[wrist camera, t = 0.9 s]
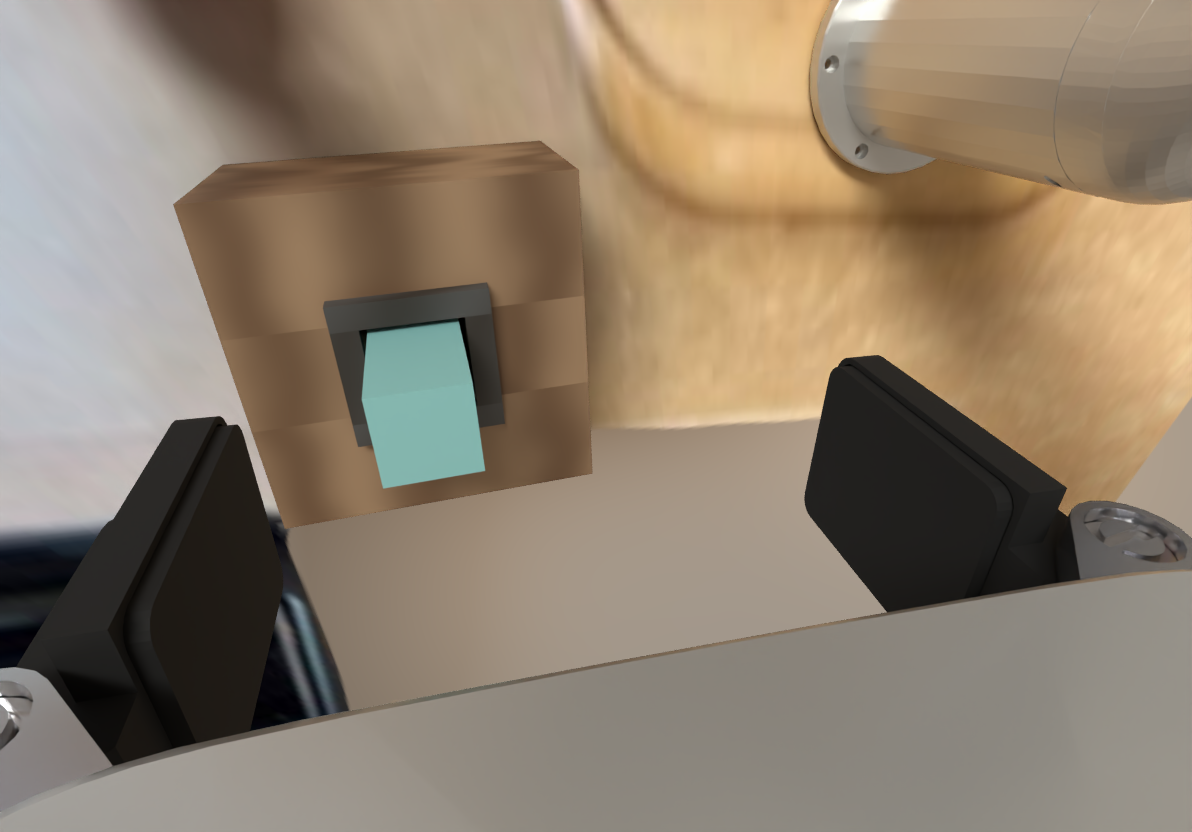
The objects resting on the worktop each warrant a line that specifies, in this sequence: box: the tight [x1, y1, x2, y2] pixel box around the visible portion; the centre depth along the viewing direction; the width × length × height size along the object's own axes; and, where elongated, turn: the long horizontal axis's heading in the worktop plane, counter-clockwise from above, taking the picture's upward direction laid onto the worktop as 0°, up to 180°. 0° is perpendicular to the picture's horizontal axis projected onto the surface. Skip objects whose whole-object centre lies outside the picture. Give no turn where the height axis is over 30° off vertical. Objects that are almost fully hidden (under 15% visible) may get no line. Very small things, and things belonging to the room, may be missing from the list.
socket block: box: [173, 141, 592, 529], centre depth 35 cm, size 16×16×10 cm
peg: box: [362, 318, 485, 489], centre depth 30 cm, size 4×4×10 cm
